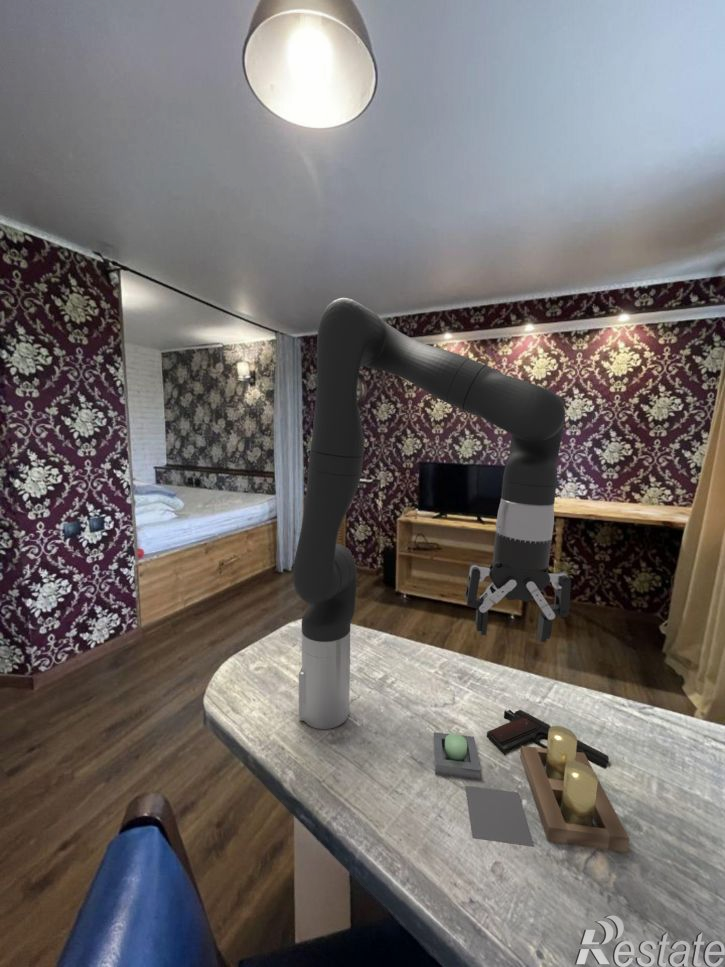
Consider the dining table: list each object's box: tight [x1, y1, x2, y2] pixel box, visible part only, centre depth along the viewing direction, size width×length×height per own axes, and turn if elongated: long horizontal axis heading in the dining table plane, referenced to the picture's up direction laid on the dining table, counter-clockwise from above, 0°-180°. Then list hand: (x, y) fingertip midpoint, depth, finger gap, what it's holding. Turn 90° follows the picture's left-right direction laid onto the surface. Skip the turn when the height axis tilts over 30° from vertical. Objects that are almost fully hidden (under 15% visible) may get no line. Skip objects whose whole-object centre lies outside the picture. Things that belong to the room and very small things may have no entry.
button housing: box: [432, 731, 482, 781], centre depth 66 cm, size 7×7×2 cm
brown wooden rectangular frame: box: [519, 745, 630, 853], centre depth 59 cm, size 10×14×2 cm
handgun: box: [486, 709, 610, 769], centre depth 69 cm, size 2×17×12 cm
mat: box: [464, 785, 535, 847], centre depth 57 cm, size 8×8×1 cm
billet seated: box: [544, 725, 578, 781], centre depth 62 cm, size 4×4×8 cm
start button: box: [445, 733, 467, 761], centre depth 66 cm, size 4×4×2 cm
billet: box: [560, 761, 599, 827], centre depth 56 cm, size 4×4×8 cm
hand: (511, 636), depth 59 cm, fingers open, 8 cm apart
